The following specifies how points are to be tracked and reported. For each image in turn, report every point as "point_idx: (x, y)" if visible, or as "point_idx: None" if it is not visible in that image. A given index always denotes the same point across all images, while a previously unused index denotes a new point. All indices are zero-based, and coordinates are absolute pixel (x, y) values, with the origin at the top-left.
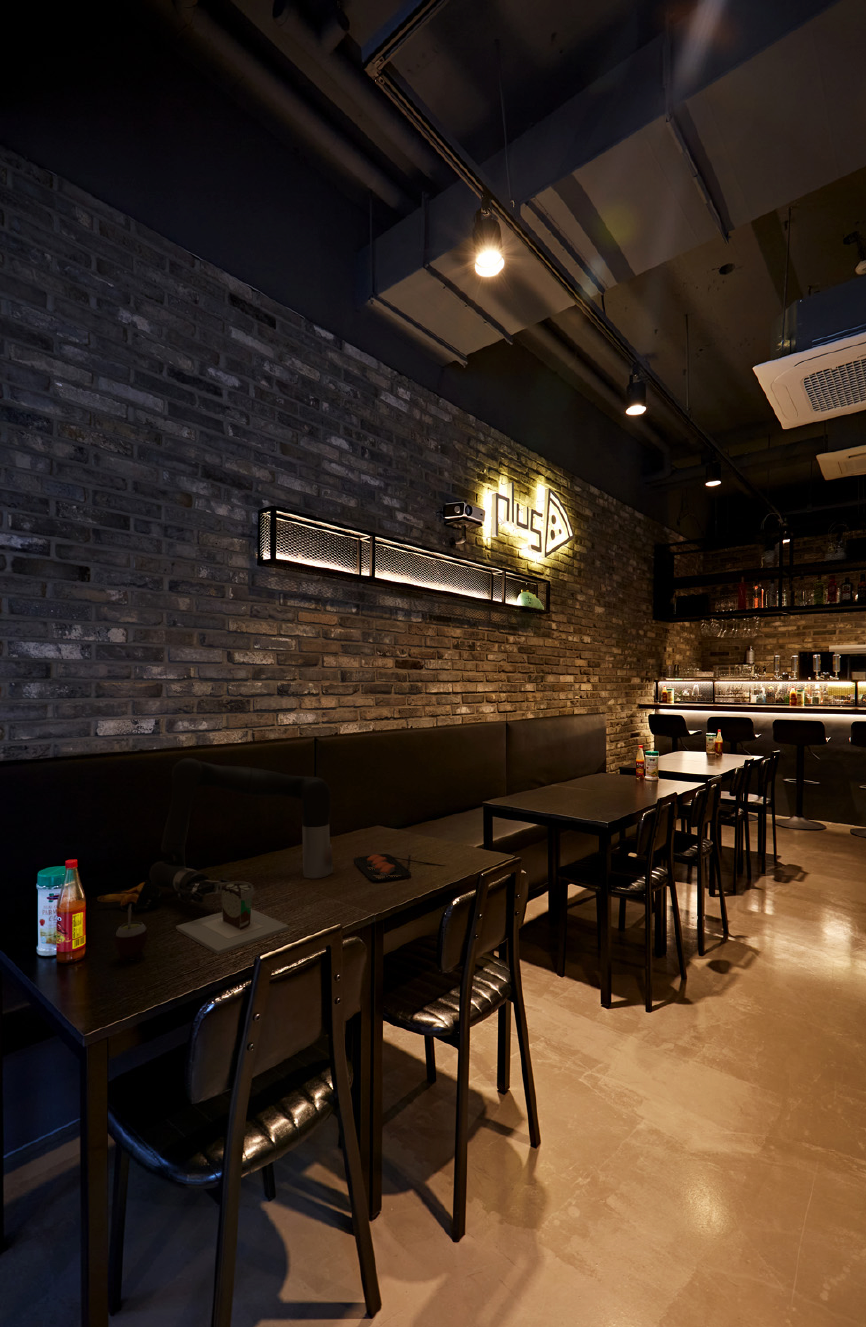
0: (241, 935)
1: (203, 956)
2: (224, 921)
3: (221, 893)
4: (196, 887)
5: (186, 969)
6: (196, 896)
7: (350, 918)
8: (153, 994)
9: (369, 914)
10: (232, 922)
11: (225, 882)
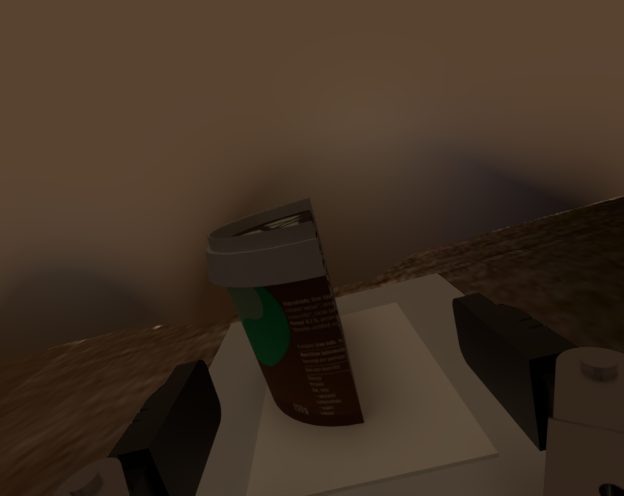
0: (354, 312)
1: (477, 284)
2: (360, 406)
3: (326, 281)
4: (567, 423)
5: (518, 257)
6: (522, 314)
7: (117, 339)
8: (572, 223)
9: (84, 341)
10: (345, 348)
11: (66, 488)
